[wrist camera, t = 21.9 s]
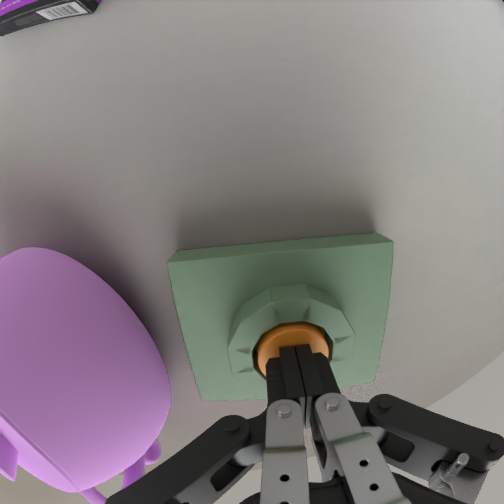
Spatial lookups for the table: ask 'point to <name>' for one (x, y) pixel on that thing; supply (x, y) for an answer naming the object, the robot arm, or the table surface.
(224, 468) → the robot arm
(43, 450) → the teapot
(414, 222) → the table surface
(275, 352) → the button
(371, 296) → the control block
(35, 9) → the box
